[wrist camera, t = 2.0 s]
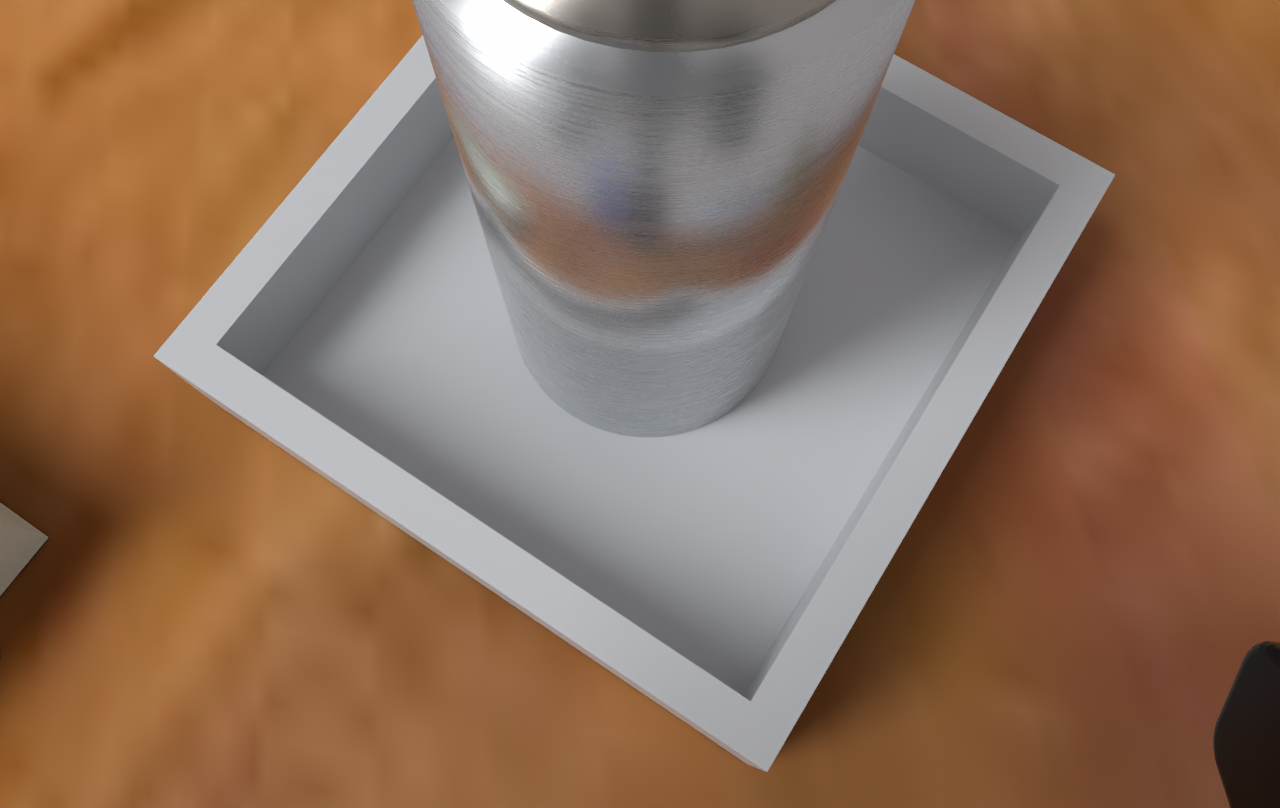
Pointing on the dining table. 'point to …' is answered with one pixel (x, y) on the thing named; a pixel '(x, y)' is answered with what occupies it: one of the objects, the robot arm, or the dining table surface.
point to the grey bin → (648, 466)
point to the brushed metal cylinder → (655, 181)
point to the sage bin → (16, 545)
